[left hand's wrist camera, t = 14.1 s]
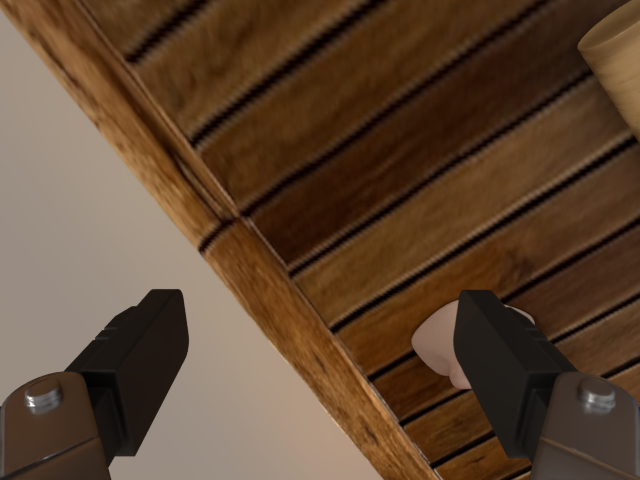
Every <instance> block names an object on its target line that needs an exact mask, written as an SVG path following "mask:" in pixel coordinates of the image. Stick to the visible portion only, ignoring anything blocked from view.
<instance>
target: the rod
mask: <svg viewBox="0 0 640 480" xmlns="http://www.w3.org/2000/svg"><path fill="white" fill-rule="evenodd" d="M577 48H578V50H579V52H580V53H581V55H582V56H583V58H584V59H585V61H586V63H587V64H588V66H589V67H590V69H591V70H592V72H593V73H594V75H595V76H596V78H597V79H598V81H599V82H600V84H601V86H602V87H603V89H604V90H605V92H606V93H607V95H608V96H609V98H610V99H611V101H612V102H613V104H614V105H615V107H616V109H617V110H618V112H619V113H620V115H621V116H622V118H623V119H624V121H625V122H626V124H627V125H628V127H629V128H630V130H631V131H632V133H633V135H634V136H635V138H636V139H637V141H638V142H639V144H640V0H631V1H630V2H628V3H626V4H625V5H623V6H621V7H620V8H618V9H617V10H615V11H614V12H612V13H611V14H609V15H608V16H607V17H605V18H604V19H603V20H601V21H600V22H599V23H598V24H596V25H595V26H594V27H593V28H592V29H591V30H590V31H589V32H588V33H587V34H586V35H585V36H584V37H583V38H582V39H581V41H580V42H579V44H578V47H577Z"/></svg>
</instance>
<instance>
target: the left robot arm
mask: <svg viewBox="0 0 640 480" xmlns="http://www.w3.org/2000/svg"><path fill="white" fill-rule="evenodd" d="M188 346H189V335H188V327H187V320H186V313H185V306H184V299H183V294H182V292H181V290H179V289H152V290H151V291H150V292H149V293H148V294H147V295H146V296H145V297H144V298H143V300H142V301H141V302H140V303H139V304H138V305H137V306H132V307H130V308H128V309H127V310H125V311H123V312H122V313H120V314H118V315H116V316H115V317H114V318H113V319H112V320H111V321H110V322H109V323H108V325H107V326H106V327H105V328H104V330H102V331H101V332H100V333H99V334H98V335H97V336H96V337H95V340H93V341H92V342H91V343H90V344H89V345H88V346H87V347H86V348H85V349H84V350H83V351H82V352H81V353H80V354H79V356H78V357H77V358H76V359H75V360H74V361H73V362H72V363H71V364H70V365H69V366H68V367H67V368H66V369H65V371H64V372H56V373H51V374H47V375H44V376H41V377H38V378H36V379H34V380H32V381H29V382H27V383H26V384H24V385H22V386H21V387H19V388H18V389H16V390H15V391H14V392H13V393H11V394H10V395H9V396H8V397H7V398H6V400H5V401H4V402H3V404H2V406H1V407H0V480H111V477H110V473H109V469H108V467H109V466H110V464H111V462H112V460H113V459H114V457H115V456H135V455H136V453H137V451H138V449H139V447H140V445H141V444H142V442H143V440H144V438H145V436H146V434H147V432H148V430H149V428H150V426H151V424H152V422H153V420H154V418H155V416H156V414H157V413H158V411H159V409H160V407H161V405H162V403H163V401H164V399H165V397H166V395H167V393H168V391H169V389H170V387H171V385H172V383H173V381H174V380H175V378H176V376H177V374H178V372H179V370H180V368H181V366H182V364H183V362H184V360H185V358H186V355H187V352H188ZM453 347H454V353H455V356H456V359H457V361H458V363H459V365H460V367H461V368H462V370H463V372H464V374H465V376H466V378H467V380H468V382H469V384H470V386H471V388H472V390H473V391H474V393H475V395H476V397H477V399H478V401H479V403H480V405H481V407H482V409H483V411H484V413H485V414H486V416H487V418H488V420H489V422H490V424H491V426H492V428H493V430H494V432H495V434H496V436H497V437H498V439H499V441H500V443H501V445H502V447H503V449H504V451H505V453H506V455H507V457H508V458H529V460H530V461H531V463H532V469H531V473H530V477H529V480H640V407H639V406H638V404H637V402H636V401H635V400H634V398H633V397H632V396H631V395H630V394H629V393H627V392H626V391H625V390H624V389H622V388H621V387H619V386H618V385H616V384H614V383H613V382H611V381H609V380H606V379H604V378H602V377H599V376H596V375H593V374H589V373H584V372H579V371H578V370H577V369H576V368H575V367H574V366H573V365H572V364H571V363H570V362H569V361H568V360H567V358H566V357H565V356H564V355H563V354H562V353H561V352H560V351H559V350H558V349H557V348H556V347H555V346H554V345H553V344H552V343H551V342H550V341H548V338H547V337H546V336H545V335H544V334H543V333H542V332H541V331H538V328H537V327H536V326H535V325H534V324H533V322H532V321H531V320H530V319H529V318H528V317H527V316H525V315H523V314H521V313H520V312H518V311H516V310H515V309H513V308H511V307H506V306H505V305H504V304H503V303H502V302H501V301H500V300H499V299H498V297H497V296H496V295H495V294H494V293H493V292H492V291H491V290H462V291H461V293H460V295H459V300H458V307H457V314H456V321H455V328H454V335H453Z"/></svg>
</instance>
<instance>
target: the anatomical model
mask: <svg viewBox="0 0 640 480" xmlns="http://www.w3.org/2000/svg"><path fill="white" fill-rule="evenodd" d="M505 306H506V307H510V306H507V305H505ZM457 307H458V300H456V301H453V302H451V303H449V304H447V305H445V306H444V307H442V308H440V309H439V310H438V311H436V312H435V313H434V314H432V315H431V316H430V317H429V318H428V319H427V320H426V321H425V322H424V323H423V324H422V325H421V326H420V327H419V328H418V329H417V330H416V332H415V333H414V335H413V337H412V346H413V348H414V350H415V351H416V353H417V354H418V355H419V356H420V358H421V359H422V360H423V361H424V362H425V363H426V364H427V365H428V366H429V367H430V368H431V369H433V370H434V371H435V372H437V373H438V374H441V375H444V376H449V377H450V380H451V382H452V384H453V385H454V386H455V387H457V388H459V389H472V388H471V386H470V384H469V382H468V380H467V378H466V376H465V374H464V372H463V370H462V368H461V367H460V365H459V363H458V361H457V359H456V356H455V353H454V347H453V335H454V328H455V321H456V314H457ZM511 308H513V307H511ZM513 309H515V310H516V311H518V312H520V313H521V314H523V315H525V316H527V317H528V318H529V319H530V320H531V321H532V322H533V324H534V325H535V323H534V320H533V318H532V317H531V316H530V315H529V314H527V313H525V312H523V311H521V310H519V309H516V308H513Z"/></svg>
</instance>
